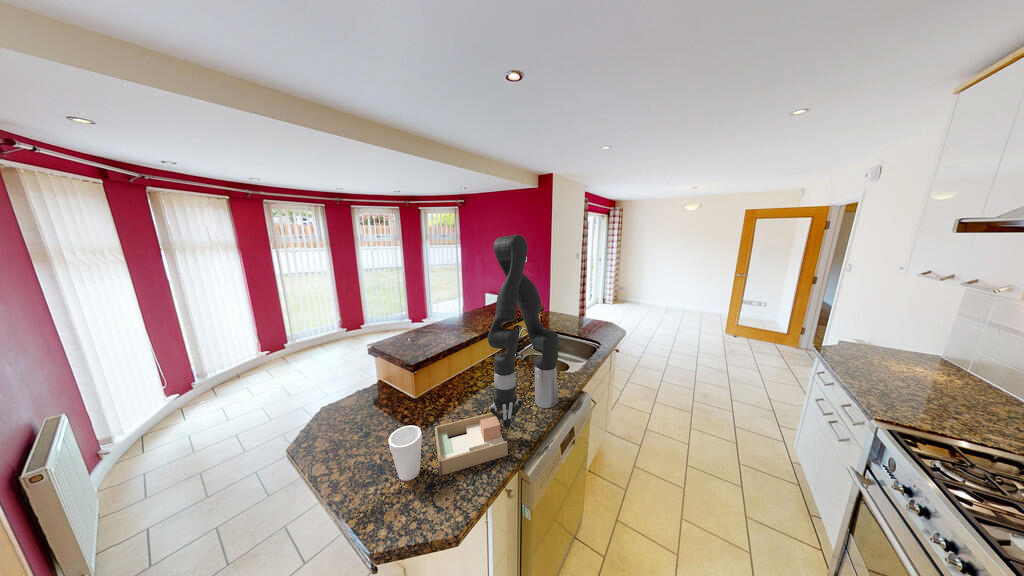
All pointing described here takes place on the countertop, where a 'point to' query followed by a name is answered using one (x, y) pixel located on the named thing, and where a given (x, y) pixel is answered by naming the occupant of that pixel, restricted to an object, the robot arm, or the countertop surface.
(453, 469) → the box
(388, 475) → the countertop surface
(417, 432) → the foam cup
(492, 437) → the block
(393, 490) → the countertop surface
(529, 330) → the robot arm
